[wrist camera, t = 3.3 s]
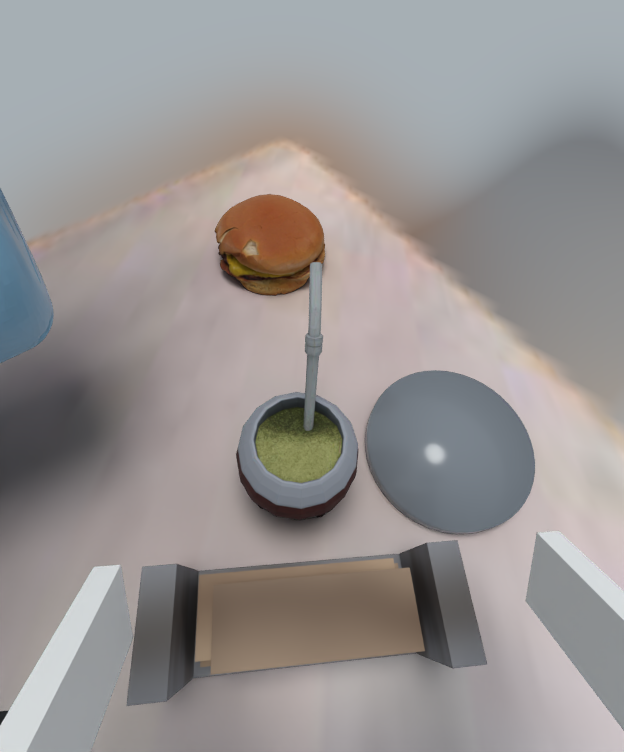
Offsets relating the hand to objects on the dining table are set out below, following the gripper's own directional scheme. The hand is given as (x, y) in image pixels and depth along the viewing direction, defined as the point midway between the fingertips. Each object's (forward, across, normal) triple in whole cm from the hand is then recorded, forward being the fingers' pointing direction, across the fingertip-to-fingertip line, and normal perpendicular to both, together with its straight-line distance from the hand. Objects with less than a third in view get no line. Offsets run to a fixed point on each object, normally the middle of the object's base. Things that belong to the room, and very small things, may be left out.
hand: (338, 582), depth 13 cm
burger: (+30, -2, +10) cm, 31 cm away
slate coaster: (+16, +11, -4) cm, 19 cm away
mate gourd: (+15, -1, -4) cm, 16 cm away
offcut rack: (+9, -1, -10) cm, 14 cm away
